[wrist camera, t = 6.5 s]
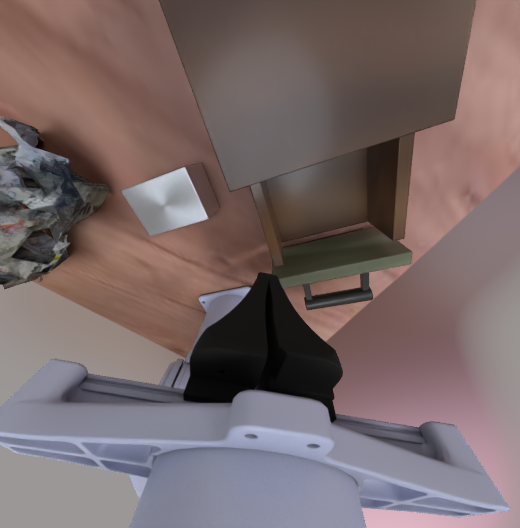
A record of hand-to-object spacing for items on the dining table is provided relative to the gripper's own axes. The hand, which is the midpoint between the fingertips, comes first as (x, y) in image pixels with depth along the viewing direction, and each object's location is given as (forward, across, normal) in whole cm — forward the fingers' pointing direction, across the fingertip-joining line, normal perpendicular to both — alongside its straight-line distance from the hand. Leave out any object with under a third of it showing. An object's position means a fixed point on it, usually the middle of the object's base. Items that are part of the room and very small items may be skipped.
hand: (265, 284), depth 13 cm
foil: (+10, +24, +1) cm, 25 cm away
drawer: (+9, -4, -4) cm, 10 cm away
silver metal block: (+9, +10, -2) cm, 14 cm away
